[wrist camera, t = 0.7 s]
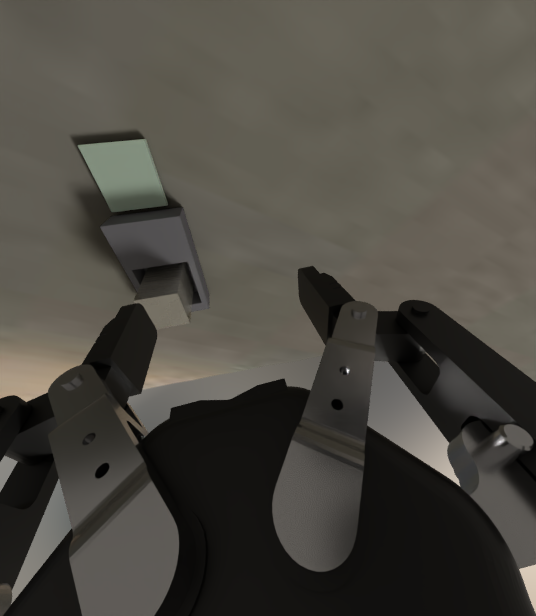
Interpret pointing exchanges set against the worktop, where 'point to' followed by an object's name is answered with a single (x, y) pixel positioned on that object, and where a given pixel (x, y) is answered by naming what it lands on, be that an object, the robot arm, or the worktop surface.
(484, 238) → the worktop surface
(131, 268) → the grey holder tray
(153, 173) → the mat
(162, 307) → the beige rectangular block
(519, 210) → the worktop surface
